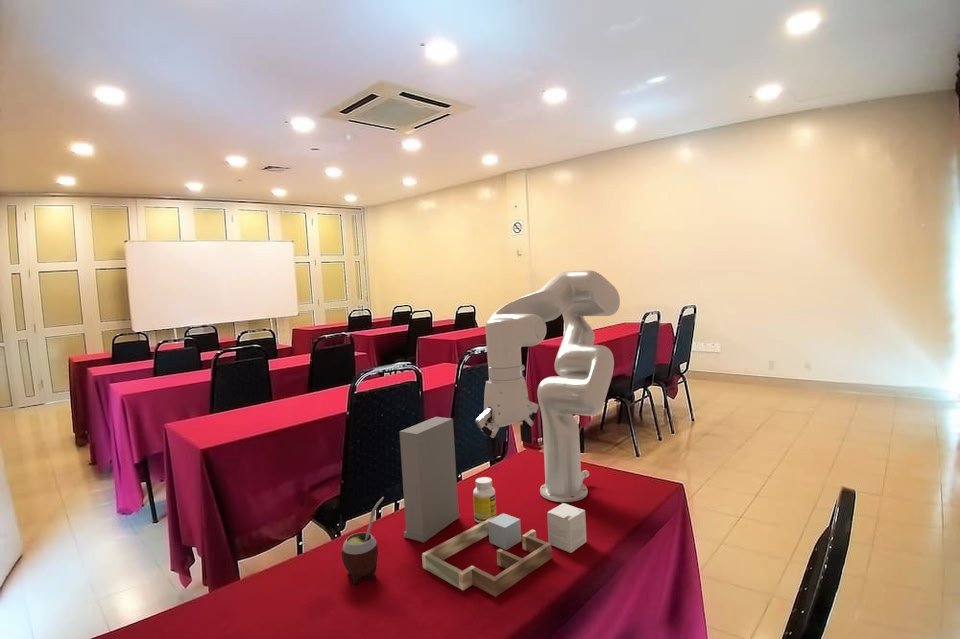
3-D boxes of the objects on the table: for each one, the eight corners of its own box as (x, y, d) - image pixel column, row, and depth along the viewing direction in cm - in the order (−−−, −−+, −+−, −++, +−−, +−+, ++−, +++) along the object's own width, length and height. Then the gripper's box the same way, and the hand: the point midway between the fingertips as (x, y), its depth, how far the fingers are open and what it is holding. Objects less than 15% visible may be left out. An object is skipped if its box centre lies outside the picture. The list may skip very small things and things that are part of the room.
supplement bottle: (494, 524, 121) (492, 484, 120) (472, 523, 122) (470, 484, 121) (498, 514, 126) (496, 476, 125) (476, 513, 127) (474, 475, 126)
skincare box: (564, 533, 115) (562, 502, 114) (587, 542, 110) (586, 509, 110) (547, 544, 110) (546, 511, 110) (571, 553, 106) (569, 519, 106)
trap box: (496, 527, 119) (495, 515, 119) (559, 553, 107) (558, 539, 106) (422, 567, 104) (422, 553, 104) (486, 603, 91) (485, 587, 91)
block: (504, 534, 116) (503, 513, 116) (521, 541, 113) (520, 519, 112) (489, 542, 113) (488, 521, 112) (506, 550, 109) (505, 527, 109)
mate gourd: (336, 585, 99) (331, 510, 98) (357, 563, 107) (352, 494, 106) (371, 589, 97) (366, 513, 96) (389, 567, 105) (384, 496, 104)
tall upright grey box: (439, 513, 129) (433, 416, 127) (459, 518, 125) (453, 418, 124) (403, 537, 117) (396, 431, 115) (424, 543, 114) (416, 434, 112)
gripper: (523, 365, 121) (528, 435, 123) (464, 378, 111) (469, 453, 113) (545, 368, 115) (549, 442, 117) (484, 382, 105) (489, 462, 107)
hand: (510, 447), depth 115 cm, fingers open, 9 cm apart
